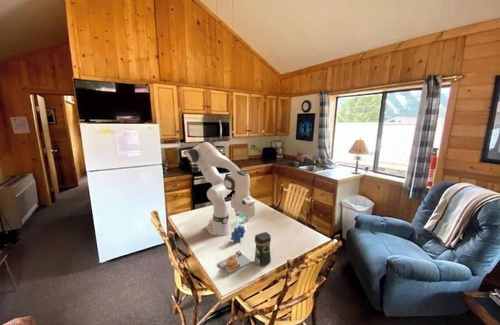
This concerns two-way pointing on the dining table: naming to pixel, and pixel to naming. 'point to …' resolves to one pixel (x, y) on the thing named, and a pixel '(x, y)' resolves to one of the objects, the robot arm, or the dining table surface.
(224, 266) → the bracket
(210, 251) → the dining table surface
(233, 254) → the routed cable
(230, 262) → the block
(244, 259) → the routing panel
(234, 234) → the grapes
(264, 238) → the coffee jar
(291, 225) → the dining table surface
